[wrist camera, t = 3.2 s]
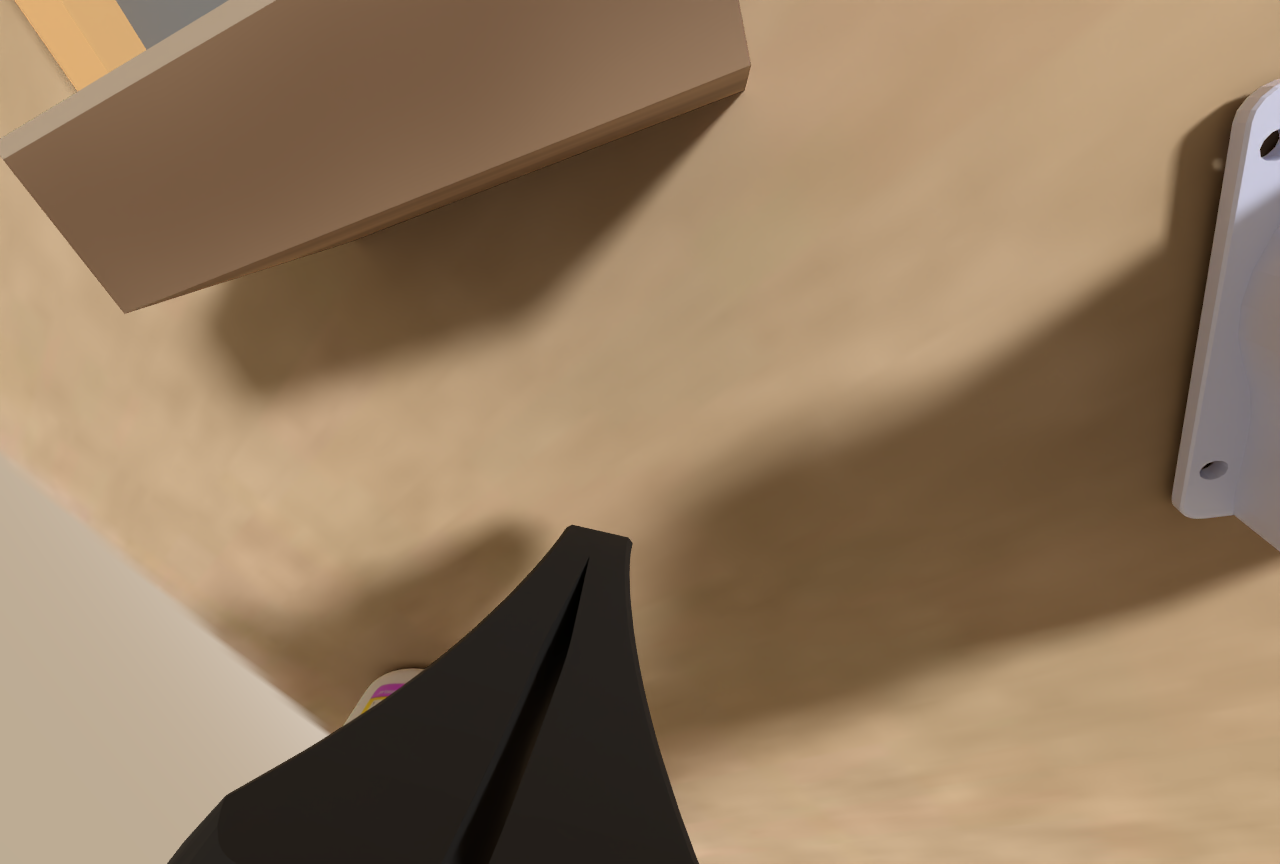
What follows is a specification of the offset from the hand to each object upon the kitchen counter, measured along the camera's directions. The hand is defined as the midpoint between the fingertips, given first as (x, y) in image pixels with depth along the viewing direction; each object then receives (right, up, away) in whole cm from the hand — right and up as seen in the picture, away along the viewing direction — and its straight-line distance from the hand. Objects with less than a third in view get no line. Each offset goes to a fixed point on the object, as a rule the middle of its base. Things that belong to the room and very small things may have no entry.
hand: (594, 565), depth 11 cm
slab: (-2, +10, 0) cm, 10 cm away
